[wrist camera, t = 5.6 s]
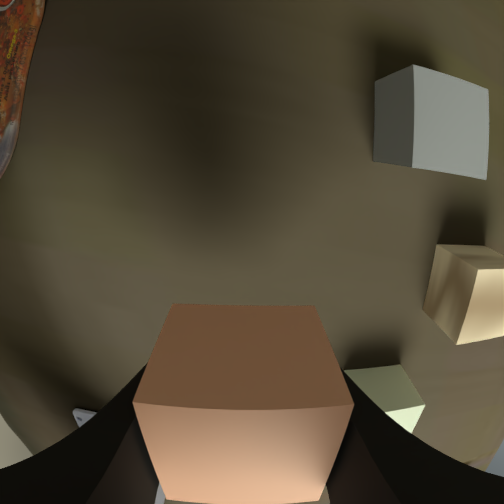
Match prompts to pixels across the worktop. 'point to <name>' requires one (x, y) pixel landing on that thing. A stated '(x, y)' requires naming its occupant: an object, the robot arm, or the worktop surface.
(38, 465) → the robot arm
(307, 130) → the worktop surface
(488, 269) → the maple block
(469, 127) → the slate block
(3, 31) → the tin
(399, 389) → the sage block
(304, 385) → the terracotta block
